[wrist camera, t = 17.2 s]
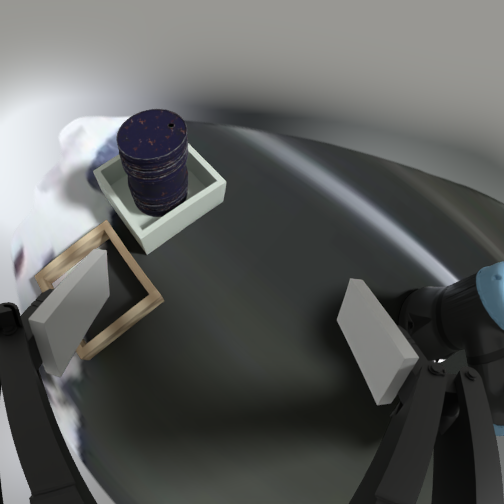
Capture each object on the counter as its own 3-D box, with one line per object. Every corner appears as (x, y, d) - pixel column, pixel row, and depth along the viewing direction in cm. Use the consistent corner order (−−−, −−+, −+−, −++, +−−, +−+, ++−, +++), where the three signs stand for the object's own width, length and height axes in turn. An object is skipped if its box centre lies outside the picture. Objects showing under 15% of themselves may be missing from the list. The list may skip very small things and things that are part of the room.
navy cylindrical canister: (143, 226, 46) (125, 171, 33) (125, 182, 49) (108, 123, 35) (197, 203, 50) (200, 144, 36) (176, 162, 52) (173, 101, 38)
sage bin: (171, 147, 55) (170, 125, 49) (223, 201, 52) (226, 181, 46) (101, 190, 49) (92, 170, 43) (147, 254, 46) (140, 239, 40)
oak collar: (111, 229, 46) (106, 219, 43) (164, 301, 44) (161, 295, 40) (43, 282, 41) (34, 276, 38) (89, 360, 38) (80, 359, 35)
